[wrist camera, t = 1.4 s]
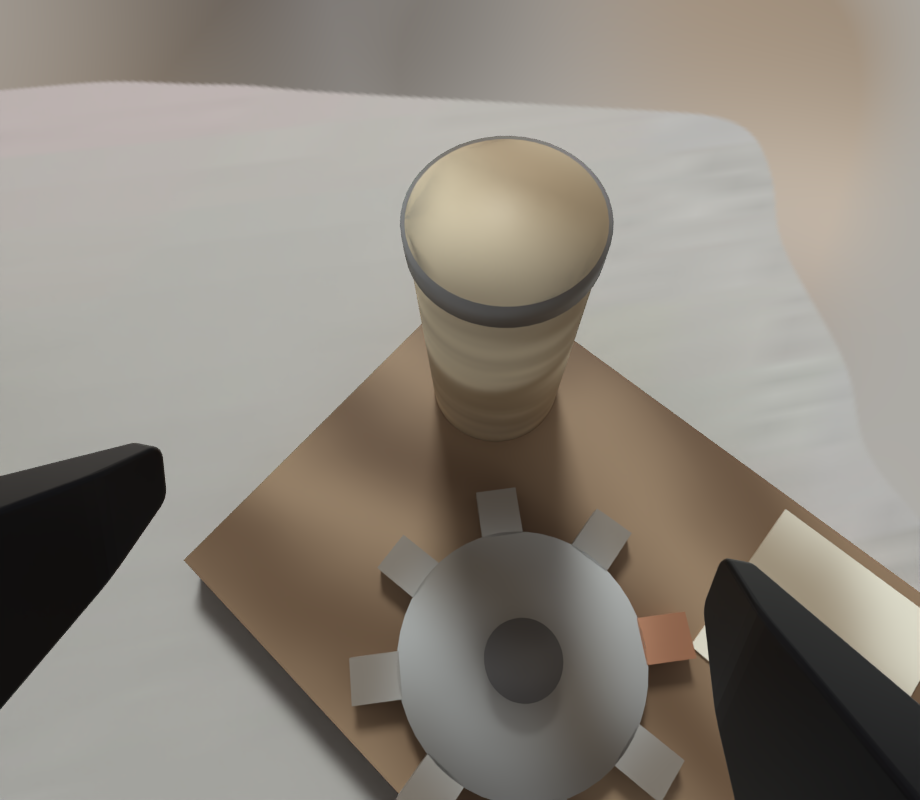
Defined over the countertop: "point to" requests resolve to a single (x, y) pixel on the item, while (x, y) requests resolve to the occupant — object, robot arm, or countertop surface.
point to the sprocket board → (528, 588)
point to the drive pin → (503, 275)
